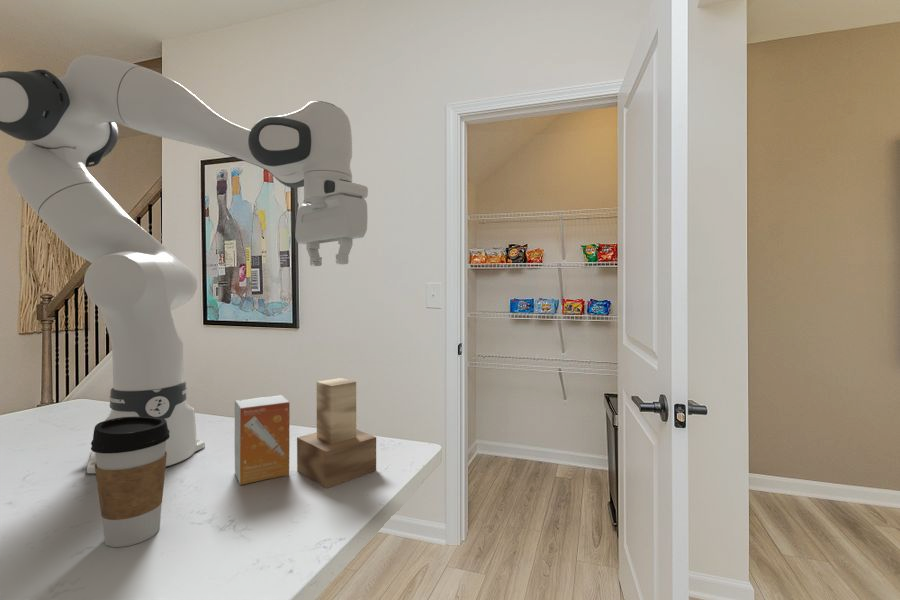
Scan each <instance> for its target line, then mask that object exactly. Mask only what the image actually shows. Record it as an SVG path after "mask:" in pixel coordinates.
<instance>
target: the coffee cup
mask: <svg viewBox="0 0 900 600" xmlns="http://www.w3.org/2000/svg"><path fill="white" fill-rule="evenodd" d="M169 433H170V431H169V430H168V427H167V422H166V420H165V419H162V418H156V417H120V418H115V419H110V420H106V421H105V420H103V421H100V422H99V423H97V424H96V425H94V428H93V435H92V439H91V442H90V445H91V447H90V451H91V452H92V451H93V452H95V455H96V464H95V472H96V473H95V478H96V486H97V493H98V501H99V507H100V515H101V518H102V519H101V520H102V529H103V531H102V532H103V537H104V542H105V545H106V546H107V547H111V548H125V547H129V546H133V545H137V544H140V543H142V542H145V541H146V540H148V539H150V538H153V537H154V536H155V535H157V534H158V532H159V530H160V528H161V518H162V517H161V515H162V503H163V495H164V486H165V475H166V467H167V466H166V457H167V452H166V451H165V448H166V440H167V439H169V437H170V435H169Z"/></svg>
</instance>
